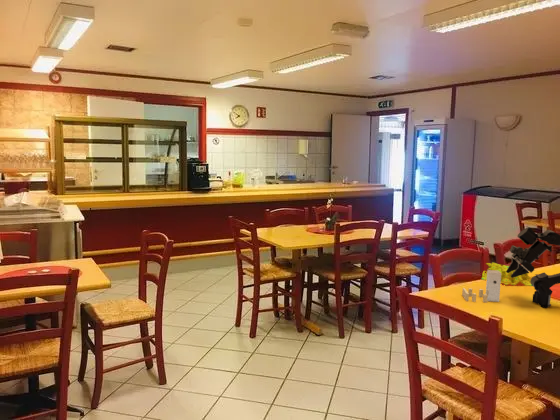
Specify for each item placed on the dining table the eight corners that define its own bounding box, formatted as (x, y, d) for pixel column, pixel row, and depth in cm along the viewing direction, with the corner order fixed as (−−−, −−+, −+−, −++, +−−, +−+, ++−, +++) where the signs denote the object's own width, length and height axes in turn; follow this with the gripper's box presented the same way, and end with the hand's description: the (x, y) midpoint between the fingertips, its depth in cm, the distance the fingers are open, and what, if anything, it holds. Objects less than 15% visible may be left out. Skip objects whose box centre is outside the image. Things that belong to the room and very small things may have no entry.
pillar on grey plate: (496, 298, 226) (498, 270, 224) (499, 301, 221) (501, 273, 219) (485, 297, 227) (487, 270, 225) (487, 301, 222) (490, 272, 220)
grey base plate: (498, 298, 229) (499, 289, 229) (505, 306, 218) (506, 297, 217) (461, 296, 233) (462, 287, 232) (466, 303, 221) (467, 294, 220)
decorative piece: (534, 264, 271) (534, 275, 245) (533, 277, 272) (532, 290, 246) (485, 259, 284) (480, 269, 257) (484, 271, 284) (479, 283, 258)
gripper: (516, 236, 228) (492, 258, 232) (526, 243, 210) (500, 267, 214) (533, 252, 227) (509, 274, 231) (545, 260, 209) (519, 284, 213)
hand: (509, 274), depth 222 cm, fingers open, 9 cm apart
